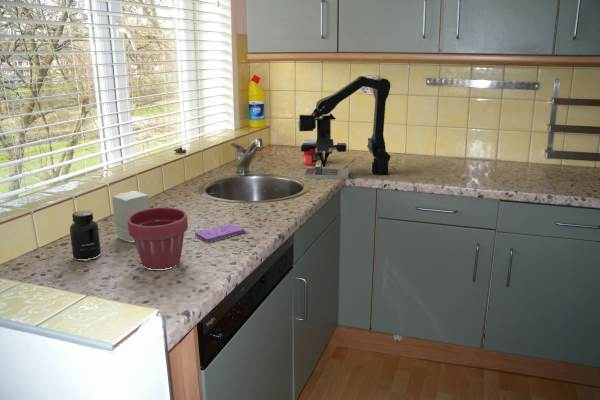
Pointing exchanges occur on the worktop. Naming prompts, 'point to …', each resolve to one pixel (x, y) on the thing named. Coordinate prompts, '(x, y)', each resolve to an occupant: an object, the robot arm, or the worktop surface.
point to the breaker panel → (326, 172)
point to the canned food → (311, 154)
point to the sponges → (218, 232)
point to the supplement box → (127, 210)
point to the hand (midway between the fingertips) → (324, 167)
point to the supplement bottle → (84, 236)
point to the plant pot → (158, 235)
